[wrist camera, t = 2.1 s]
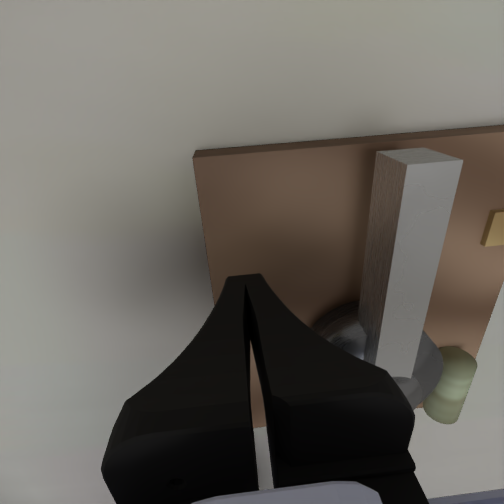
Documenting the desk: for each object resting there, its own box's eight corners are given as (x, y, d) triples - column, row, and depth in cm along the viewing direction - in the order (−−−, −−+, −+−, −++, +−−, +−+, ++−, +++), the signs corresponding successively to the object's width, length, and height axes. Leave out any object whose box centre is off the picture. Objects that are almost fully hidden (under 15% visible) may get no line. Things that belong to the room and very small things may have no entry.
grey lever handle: (406, 380, 18) (441, 436, 15) (300, 393, 18) (315, 452, 15) (463, 136, 12) (539, 153, 9) (302, 150, 12) (328, 171, 9)
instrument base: (444, 383, 21) (480, 430, 18) (232, 407, 20) (234, 461, 18) (526, 123, 14) (608, 133, 11) (195, 150, 13) (187, 169, 10)
